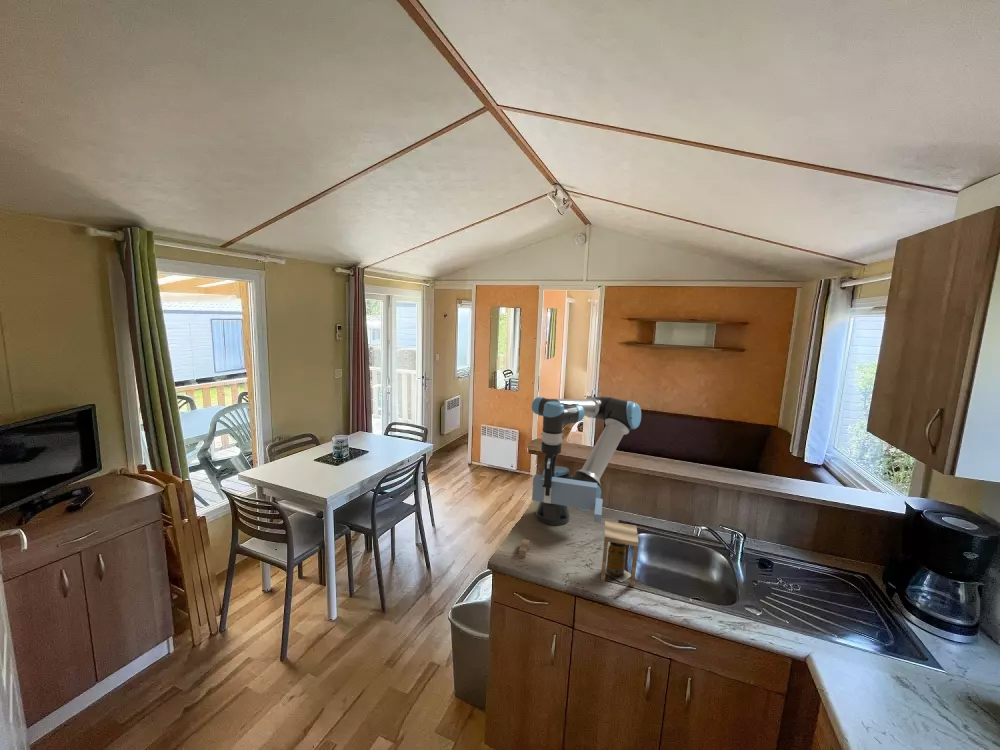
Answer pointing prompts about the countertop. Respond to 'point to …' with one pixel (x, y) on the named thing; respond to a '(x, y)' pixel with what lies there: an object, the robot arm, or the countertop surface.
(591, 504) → the crook
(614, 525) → the shelf
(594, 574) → the countertop surface
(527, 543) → the wooden block
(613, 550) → the condiment
